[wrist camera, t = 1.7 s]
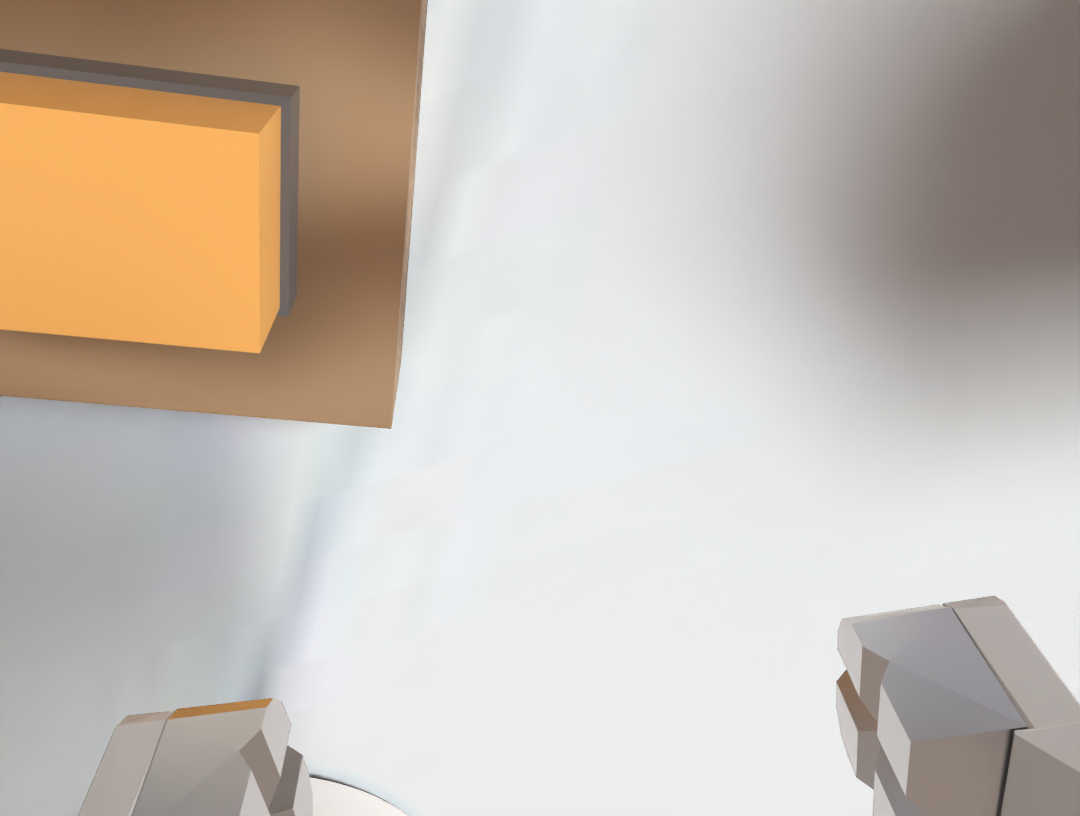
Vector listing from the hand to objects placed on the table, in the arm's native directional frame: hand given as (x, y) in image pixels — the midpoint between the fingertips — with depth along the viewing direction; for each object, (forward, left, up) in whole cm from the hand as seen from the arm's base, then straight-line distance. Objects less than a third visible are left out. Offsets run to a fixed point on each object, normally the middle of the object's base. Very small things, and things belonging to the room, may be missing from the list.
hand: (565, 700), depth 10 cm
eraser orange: (0, +10, -15) cm, 18 cm away
